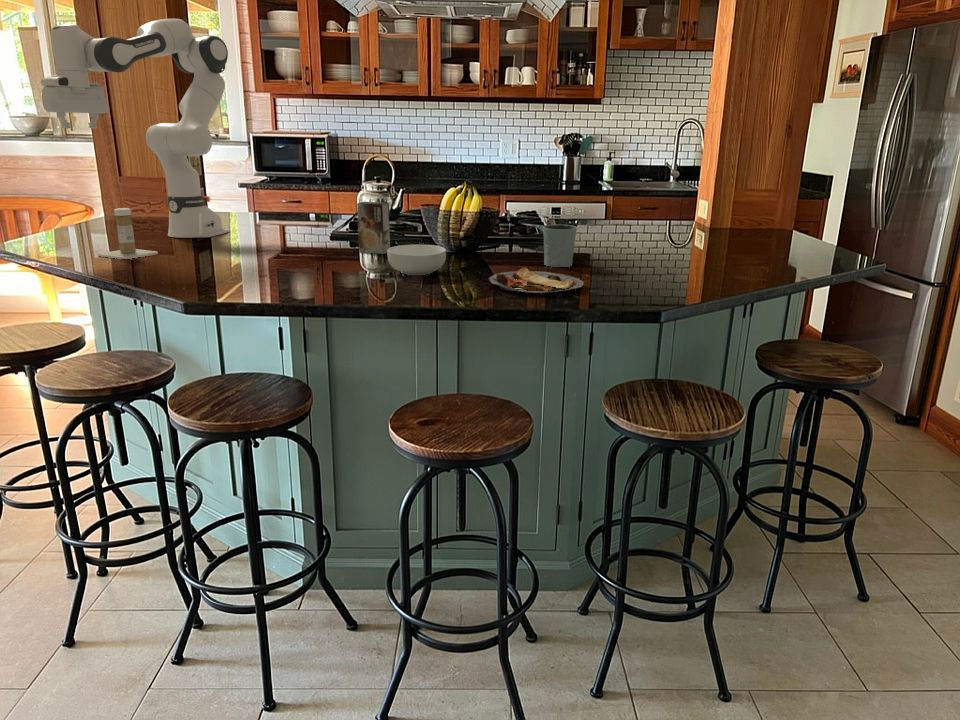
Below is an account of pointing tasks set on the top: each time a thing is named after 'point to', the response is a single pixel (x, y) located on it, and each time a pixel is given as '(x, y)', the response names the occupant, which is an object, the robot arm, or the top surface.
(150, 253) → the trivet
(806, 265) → the top surface
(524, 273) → the food plate
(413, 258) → the cereal bowl
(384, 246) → the coffee box
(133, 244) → the sprinkles bottle
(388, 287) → the top surface
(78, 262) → the top surface
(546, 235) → the grey tapered cup
